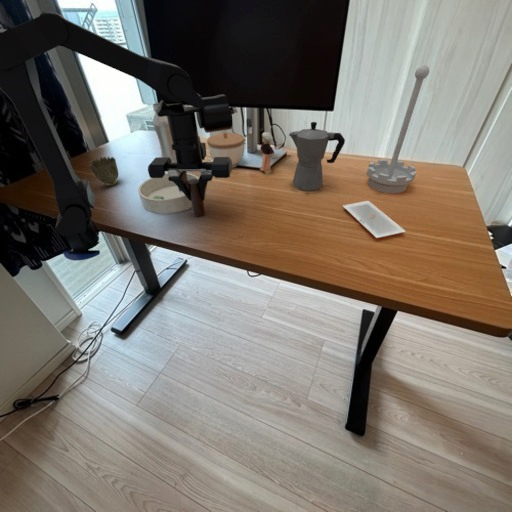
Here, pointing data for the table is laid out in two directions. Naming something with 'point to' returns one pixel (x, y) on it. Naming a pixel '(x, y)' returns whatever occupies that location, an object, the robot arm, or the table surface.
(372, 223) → the touchpad
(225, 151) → the lidded bowl
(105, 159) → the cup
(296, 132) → the coffeepot
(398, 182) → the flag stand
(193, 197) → the brown cylinder
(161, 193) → the bowl
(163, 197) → the green block
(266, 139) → the grandmother figurine
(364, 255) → the table surface
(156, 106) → the plastic bottle
